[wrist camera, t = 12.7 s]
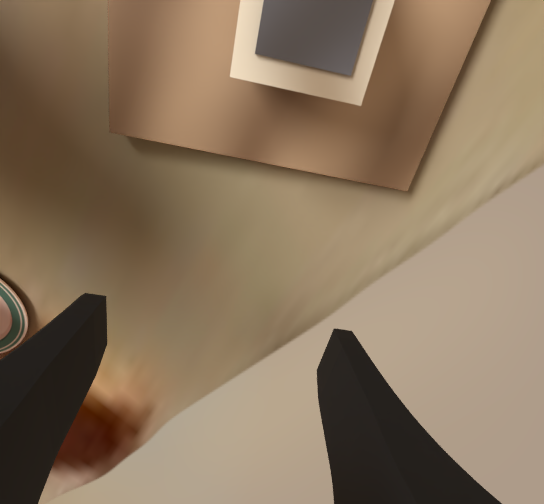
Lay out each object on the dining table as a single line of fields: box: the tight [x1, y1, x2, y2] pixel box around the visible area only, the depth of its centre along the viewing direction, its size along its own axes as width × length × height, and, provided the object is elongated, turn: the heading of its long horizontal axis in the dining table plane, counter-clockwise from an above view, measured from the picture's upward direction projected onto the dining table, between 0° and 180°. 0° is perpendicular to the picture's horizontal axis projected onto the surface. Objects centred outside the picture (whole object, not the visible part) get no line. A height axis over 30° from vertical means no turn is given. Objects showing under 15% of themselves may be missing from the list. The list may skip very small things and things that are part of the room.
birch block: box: [230, 0, 395, 106], centre depth 12 cm, size 4×4×5 cm
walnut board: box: [108, 0, 491, 191], centre depth 15 cm, size 14×12×1 cm
